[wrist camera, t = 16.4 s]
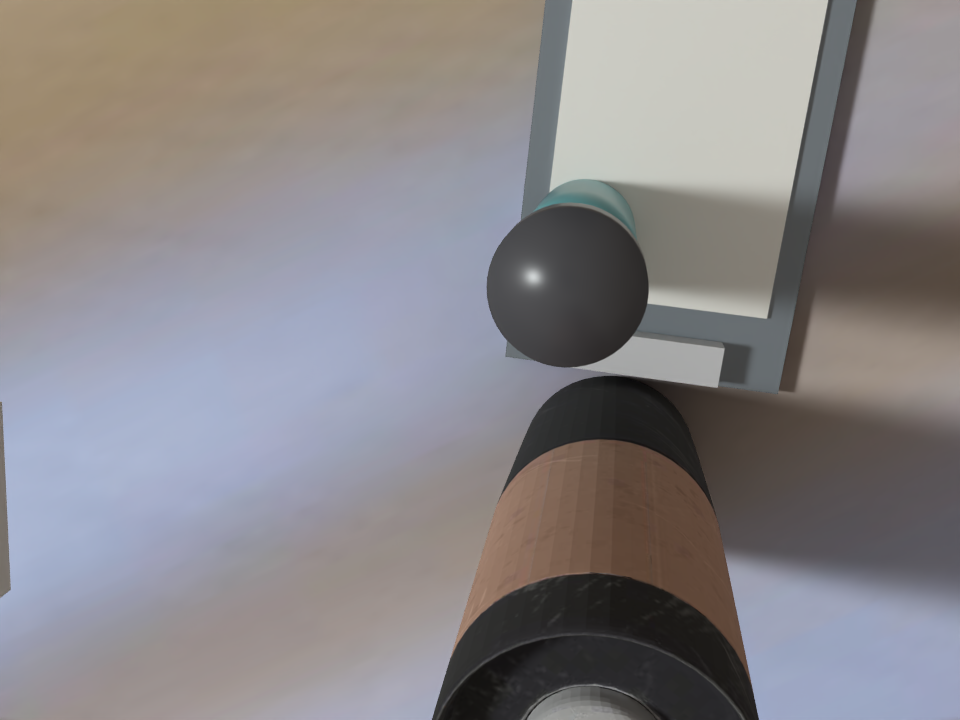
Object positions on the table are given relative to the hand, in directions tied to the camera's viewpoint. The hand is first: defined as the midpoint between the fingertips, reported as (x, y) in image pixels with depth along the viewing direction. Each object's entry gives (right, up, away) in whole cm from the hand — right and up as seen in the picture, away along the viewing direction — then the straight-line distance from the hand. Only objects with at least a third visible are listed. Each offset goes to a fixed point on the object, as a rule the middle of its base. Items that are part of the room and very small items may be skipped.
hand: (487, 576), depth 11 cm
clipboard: (+7, +11, +24) cm, 27 cm away
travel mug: (+5, -1, +28) cm, 28 cm away
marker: (+4, +8, +24) cm, 26 cm away
